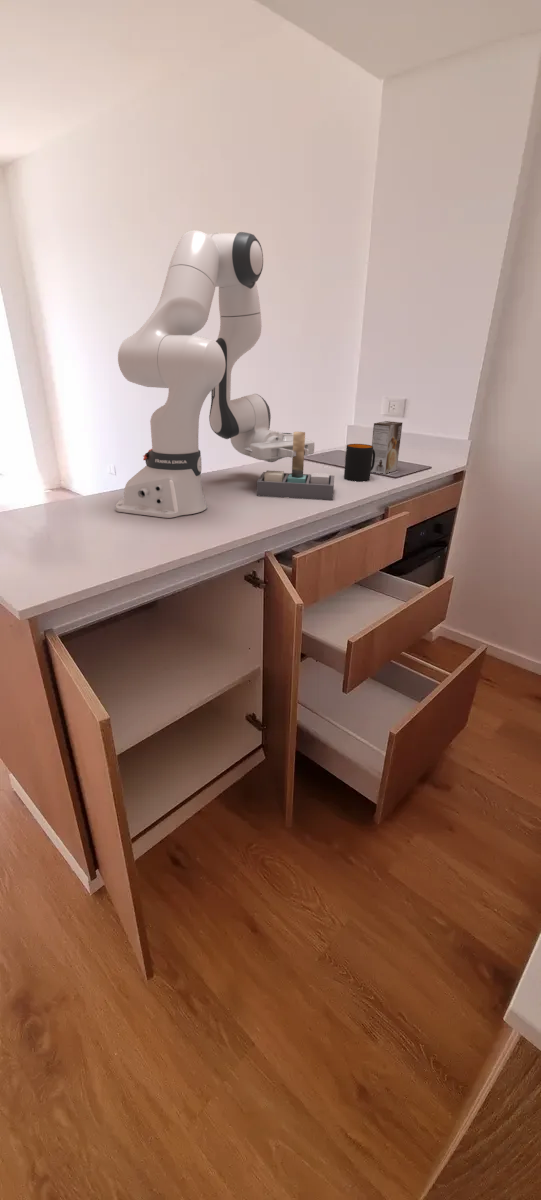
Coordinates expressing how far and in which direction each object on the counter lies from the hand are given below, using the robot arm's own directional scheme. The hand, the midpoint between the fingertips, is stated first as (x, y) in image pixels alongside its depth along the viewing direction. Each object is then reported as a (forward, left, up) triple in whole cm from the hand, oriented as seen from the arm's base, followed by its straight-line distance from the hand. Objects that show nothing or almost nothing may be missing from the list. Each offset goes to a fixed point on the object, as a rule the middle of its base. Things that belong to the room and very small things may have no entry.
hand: (300, 453), depth 144 cm
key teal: (-1, +1, -10) cm, 10 cm away
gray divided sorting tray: (-1, +1, -11) cm, 11 cm away
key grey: (+6, +1, -9) cm, 11 cm away
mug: (+18, +25, -11) cm, 33 cm away
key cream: (-7, +1, -9) cm, 11 cm away
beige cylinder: (-1, +1, -6) cm, 7 cm away
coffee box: (+26, +38, -11) cm, 47 cm away
